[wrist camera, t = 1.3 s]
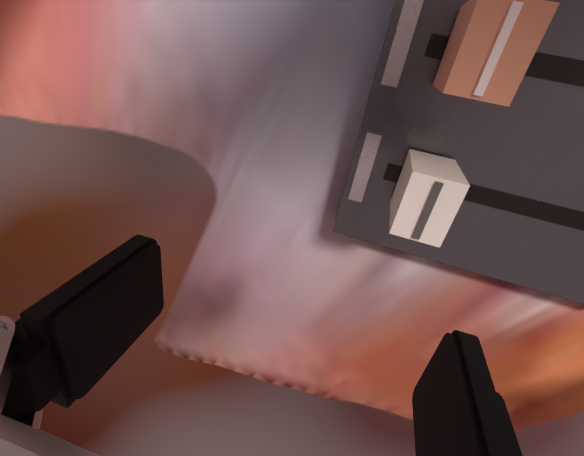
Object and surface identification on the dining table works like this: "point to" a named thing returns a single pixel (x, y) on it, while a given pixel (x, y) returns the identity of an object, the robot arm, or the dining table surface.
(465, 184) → the fader ivory
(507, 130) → the console
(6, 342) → the robot arm
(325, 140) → the dining table surface
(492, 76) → the fader terracotta
